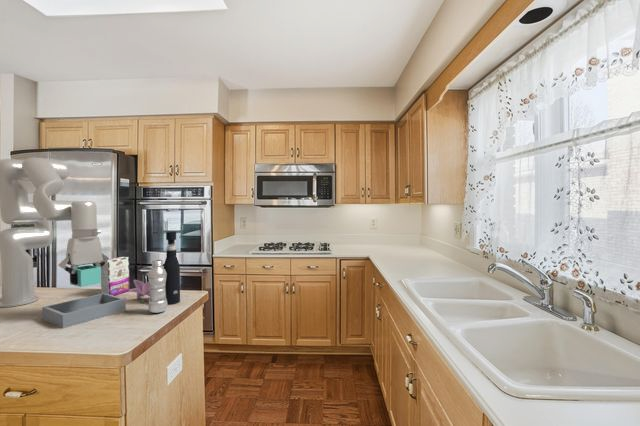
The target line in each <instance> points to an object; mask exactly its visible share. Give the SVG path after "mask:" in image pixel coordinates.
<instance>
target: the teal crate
mask: <svg viewBox="0 0 640 426" xmlns="http://www.w3.org/2000/svg"><path fill="white" fill-rule="evenodd" d="M76 273H77V284H72V283H71V282H70V281H69V285H73V286H76V287H80V288H83V287H88V286H93V285H100V284H101V267H97V266H93V265H92V264H86V265H80V266H78V268H77V270H76Z"/></svg>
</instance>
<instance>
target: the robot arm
mask: <svg viewBox="0 0 640 426" xmlns="http://www.w3.org/2000/svg"><path fill="white" fill-rule="evenodd" d="M69 175H70V168H69V166H68V164H67V163H66V162H64V161H63V160H59V159H52V158H45V157H28V158H26V159H25V160H24V159H17V158H16V159H15V158H2V159H0V218H1V221H2V222H3V223H4V224H6V225H32V224H33V225H34V226H28V227H25V226H24V227H23V226H22V227H11V228H6V229H2V230H1V231H0V269H1V270H0V271H1V272H0V273H1V274H0V275H1V278H0V279H1V300H0V308H12V307H18V306H23V305H24V306H25V305H28V304H32V303H34V302H36V301H38V300H40V297H39V295H35V291H34V290H35V289H34V287H35V284H34V260H33V259H34V258H33V257H32V256H31V255H30V254H29V253H28V252H27V250H32V249H33V250H35V249H42V248H47V247H50V246H51V244H52V243H53V241H54V229H53V222H63V221H65V222H66V221H67V222H68V221H69V222H70V223H71V224H70V225H71V231H70V232H71V238H68V240H67V244H66V245H67V246H66V251H65V252H66V254H65V258H64V259H62V261H61V262H59V264H58V266H59V267H60V268H61V269H63V270H64V271H66V272H67V273H69V283H70V282H71V283H72V284H77V273H76V270H77V268H78V267H81V266H87V265H92V266H97V267H101V268H102V266H103V265H104V264H105V263H106V262H107V261H108V260H109V259H110V257H109V256H107V255H105V254H104V253H103V250H102V245H101V239H100V236H98V235H99V234H101V233H102V231H101V230H100V229H98V225H97V224H98V223H97V222H98V221H97V219H98V217H97V203H96V202H94V201H92V200H91V201H90V200H89V201H88V200H52V199H51V198H50V197H52V196H55V195H57V194H59V193H61V192H62V191H63V190H64V188H65V182H64V180H66V179H68V177H69ZM19 181H25V182H31V183H32V185H33V186H34V187H35V188H36V189H35V190H34V192H33V195H32V201H29V193H28V190H27V189H26V187H25V186H24V185H23V184H22V183H21V182H19ZM67 265H68V266H67Z"/></svg>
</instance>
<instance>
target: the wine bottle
mask: <svg viewBox="0 0 640 426" xmlns="http://www.w3.org/2000/svg"><path fill="white" fill-rule="evenodd" d="M165 239H166V240H165V241H167V246H166V250H165V251H166V257H165V260H164V262H163V266H162V267H163V268H164V269H165V270H166V273H167V277H166V287H165V288H166V289H165V291H166V299H167V303H168V305H170V306H172V305H176V304H179V303H180V302H181V276H180V275H181V270H180V269H181V267H180V262H179V259H178V257H177V249H176V245H175V240H176V241H177V232H176V231H167V232H165ZM168 305H167V306H168Z"/></svg>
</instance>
